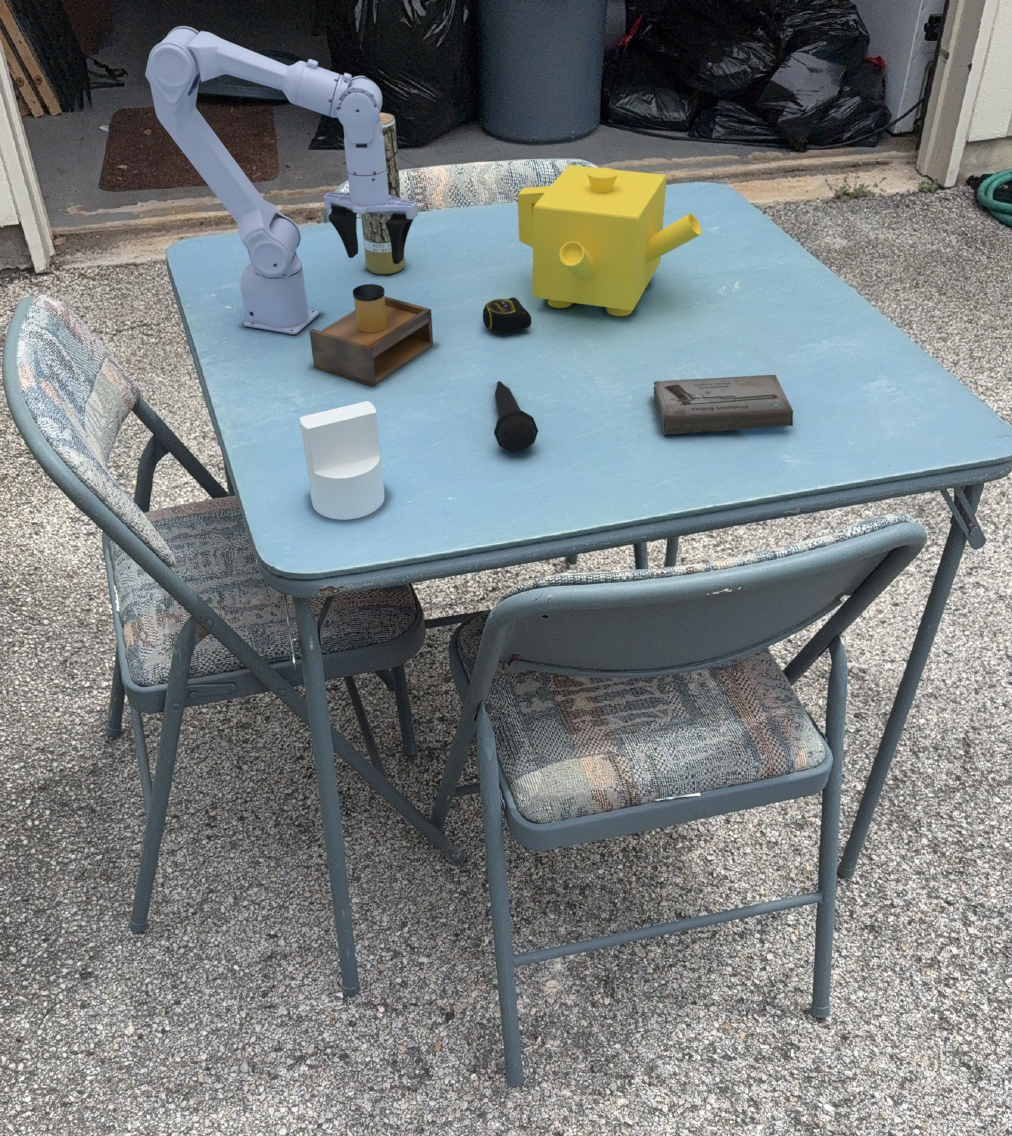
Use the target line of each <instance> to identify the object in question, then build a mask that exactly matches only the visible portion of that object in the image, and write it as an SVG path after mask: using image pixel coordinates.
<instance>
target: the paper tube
mask: <svg viewBox="0 0 1012 1136" xmlns="http://www.w3.org/2000/svg"><path fill="white" fill-rule="evenodd" d="M379 116H380V117H381V124H382V134H383V137H384V146H385V157H386V170H387V181H388V192H389V195H391V196H394V197H398V198H401V197H402V196H401V184H400V183H401V182H400V171H399V170H400V169H399V158H398V157H399V156H398V143H397V140H398V139H397V128H396V119H395V116H394V115H393V114H391V113H386V112H380V114H379ZM401 199H402V198H401ZM390 218H392V215H387V214H378V213H370V212H366V213H360V219H361V229H362V239H363V248H364V249H363V250H364V258H365V259H364V260H365V267H366V269H367V271H369V272H371V273H372V274H375V275H392V274H396V273H398V272H401V271H402V270H403V269H404V267H405V265H406V256H405V253H404V255H403V260H402V261H401V262H400V263H399V264H394V263H393V259H392V249H391V241H390V237H389V233H388V230H387V227H386V222H387V221H388V220H389V219H390Z"/></svg>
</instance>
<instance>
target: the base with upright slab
mask: <svg viewBox="0 0 1012 1136" xmlns="http://www.w3.org/2000/svg"><path fill="white" fill-rule="evenodd" d="M299 423H300V430H301V436H302V443H303V445H302V446H303V451H304V457H305V464H306V472H307V478H308V486H309V491H310V492H309V493H310V498H311V504H312V507H313V509H314V511H315V512H316V513H318V514H319V515H321V516H323V517H325V518H328V519H332V520H338V521H339V520H340V521H345V520H348V521H349V520H354V519H360V518H363V517H366V516H369V515H371V514H373V513H374V512H376V511H377V510H378V509H379V508H380V507H382V505H383V503H384V501H385V484H384V475H383V466H382V465H383V464H382V455H381V454H382V453H381V444H380V434H379V425H378V424H379V423H378V413H377V408H376V407H375V405H374V404H372V402H371V401H368V400H366V401H362V402H357V403H353V404H348V405H345V406H341V407H337V408H333V409H328V410H324V411H321V412H316V413H315V412H314V413H311V414H307V415H303V416H299Z"/></svg>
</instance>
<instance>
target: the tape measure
mask: <svg viewBox="0 0 1012 1136" xmlns="http://www.w3.org/2000/svg"><path fill="white" fill-rule="evenodd" d="M482 323H483V324H484V326H485V327H486V328H487V329H488V330H490V331H491V332H493V333H497V334H512V333H515V332H519V331H522V330H526V329H529V328H530V327H531V325H532V316H531V314H530V313H529V312H528V310H527V309H526V308H525V307H524V306H523V305H522V304H521V301H519V300H518V298H517V297H514V296H513V297H508V298H497V299H493V300H490V301H488V302H487V303H486V304H485V305H484V308H483V310H482Z"/></svg>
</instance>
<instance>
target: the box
mask: <svg viewBox="0 0 1012 1136" xmlns="http://www.w3.org/2000/svg"><path fill="white" fill-rule="evenodd" d="M653 385H654V386H653V388H652V389H653V402H654V406H655V408H656V412H657V416H658V419H659V424H660V426H661V430H662V433H663V435H664V436H665V435H677V434H678V435H680V434H684V435H685V434H689V433H697V434H698V433H702V432H706V433H707V432H722V431H724V432H726V431H735V430H737V431H739V430H753V429H768V428H769V429H770V428H782V427H783V428H784V427H793V425H794V420H793V419H794V410H793V407H792V406H791V404H790V402H789V400H788V398H787V396H786V394H785V392H784V390H783V388H782V385H781V383H780V381H779V379H778V377H777V375H776V374H762V375H759V374H758V375H749V376H748V375H745V376H744V375H743V376H725V377H709V378H708V377H707V378H693V379H692V378H691V379H671V380H668V379H667V380H663V381H661V380H655V381H653Z"/></svg>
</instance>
